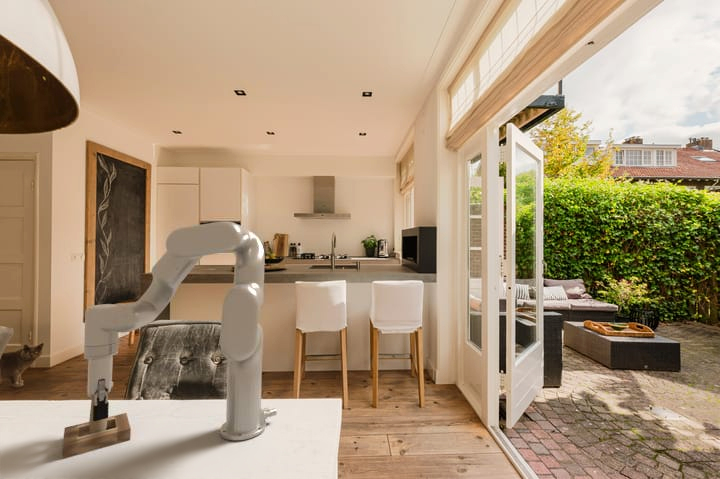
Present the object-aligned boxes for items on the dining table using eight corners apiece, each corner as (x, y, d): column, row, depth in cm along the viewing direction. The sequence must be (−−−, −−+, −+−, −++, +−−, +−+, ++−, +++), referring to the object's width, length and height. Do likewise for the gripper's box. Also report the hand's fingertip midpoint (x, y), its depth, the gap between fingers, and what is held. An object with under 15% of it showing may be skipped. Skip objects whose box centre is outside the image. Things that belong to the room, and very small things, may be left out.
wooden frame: (126, 423, 101) (126, 412, 101) (130, 439, 92) (130, 427, 92) (64, 438, 92) (64, 426, 93) (61, 459, 83) (62, 445, 83)
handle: (98, 445, 89) (101, 387, 90) (79, 442, 90) (81, 385, 91) (115, 435, 94) (117, 381, 95) (96, 433, 95) (98, 379, 96)
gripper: (84, 346, 98) (82, 406, 97) (84, 359, 84) (82, 429, 84) (115, 341, 102) (114, 399, 102) (120, 353, 89) (119, 420, 88)
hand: (99, 412), depth 93 cm, fingers open, 9 cm apart
